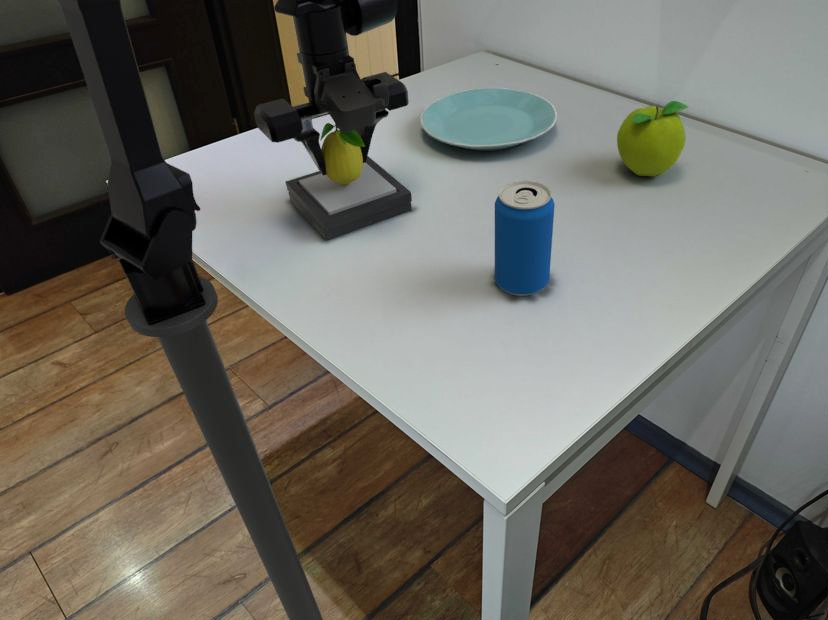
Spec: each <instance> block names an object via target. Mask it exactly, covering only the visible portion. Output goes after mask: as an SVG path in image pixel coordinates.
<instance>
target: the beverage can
mask: <svg viewBox="0 0 828 620" xmlns="http://www.w3.org/2000/svg"><path fill="white" fill-rule="evenodd" d="M498 191H499V192H498V196H497V197H496V199H495V201H494V282H495V284H496V285H497V286H498V288H499V289H500V290H503V291H504V292H506V293H508V294H510V295H513V296H517V297H526V296H531V295H535V294H537V293H539V292H541V291H543V290H544V289H545V288H546V287H547V286H548V284H549V282H550V276H551V273H550V272H551V263H552V262H551V259H552V246H553V235H554V234H553V233H554V221H555V220H554V219H555V205H556V204H555V201H554V199H553V197H552V192H551V189H550V188H549V187H548V186H546V185H545V184H543V183H541V182H539V181H533V180H516V181H512V182H509V183H506V184H504V185H503V186H501V188H500V189H499V190H498Z"/></svg>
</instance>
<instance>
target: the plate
mask: <svg viewBox="0 0 828 620" xmlns="http://www.w3.org/2000/svg"><path fill="white" fill-rule="evenodd" d="M557 120H558V112H557V109H556V107H555V106H554V105H553V104H552V102H550V101H549V100H548V99H546V98H544V97H543V96H541V95H537V94H535V93H532V92H529V91H525V90H521V89H516V88H509V87H490V86H489V87H477V88H469V89H464V90H459V91H456V92H455V91H454V92H452V93H449V94H446V95H444V96H441V97H439V98H437V99H435V100H434V101H432V102H430V103H428V105H426V106H425V107H424V108H423V110H422V112H421V114H420V116H419V123H420V127H421V128H422V129H423V131H424V132H425V133H426V134H427V135H428V136H430V137H432V138H433V139H435V140H437V141H439V142H441V143H444V144H447V145H451V146H454V147H459V148H462V149H467V150H473V151H499V150H504V149H510V148H513V147H516V146H518V145H521V144H523V143H526V142H529V141H532V140H535V139H537V138H540V137H542V136H543V135H545V134H546V133H549V131H550V130H551V129H552V128H553V127H554V126H555V124H556V122H557Z"/></svg>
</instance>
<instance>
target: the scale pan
mask: <svg viewBox="0 0 828 620" xmlns="http://www.w3.org/2000/svg"><path fill="white" fill-rule="evenodd" d="M299 185H300V187H301V188H302V189H303V190H304V191H305V192H306V193H307V194H308V195H309V196H310V197H311V198H312V199H313V200H314V201H315V203H316V204H317V205H318V206H319V207H320V208H321V209H322V210H323V211H324V212H325V213H326V214H327V215H328V216H329V215H332V214H335V213H338V212H341V211H344V210H347V209H350V208H352V207H355V206H358V205H361V204H364V203H367V202H370V201H373V200H376V199H379V198H381V197H384V196H387V195H390V194H393V193H396V192H397V190H396V188H395V187H394V186H392V185H391V184H390V183H389V182H388V181H387V180H385V179H384V178H383V177H382V176H381V175H380V174H378V173H377V172H376V171H375V170H374V169H373V168H371V167H370V166H369V165H368V164H367V163H363V167H362V171H361V174H360V175H359V177H358V178H357V179H356V180H354V181H352V182H349V184H347V185H344V184H342V183H337V182H334V181H332V180H331V179H329V178H328V177H327V175H325V176H323V175H322V174H318V175H315V176H312V177H309V178H305V179H302V180H299Z"/></svg>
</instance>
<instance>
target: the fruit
mask: <svg viewBox="0 0 828 620" xmlns="http://www.w3.org/2000/svg"><path fill="white" fill-rule="evenodd" d="M688 108H689V105H686V104H684V103H683V102H680V101H677V100H672V101H669V102H667V103H666V104H665V105H664V107H659V105H658V104H656V105H651V106H646V107H640V108H636V109H634V110H632V111H631V112H629V114H628V115H627V116H626V117H625V118H624V120H623V122H622V123H621V125H620V126H619V129H618V131H617V137H616V143H617V150H618V154H619V156H620V159H621V160H622V162H623V164H624V165H625V166H626V167H627V168H628V169H629V170H630V171H631V172H633V174H635V175H637V176H638V177H639V176H640V177H657V176H660V175H662V174H664V173H666V172H667V171H668V170H670V169H671V168H672V167H673V166H674V165H675V164H676V162H677V161H678V160H679V158H680V156H681V155H682V152H683V150H684V148H685V145H686V130H685V127H684V124H683V122H682V119H681V117H680V115H679V114H678V112H679V111H682V110H686V109H688Z"/></svg>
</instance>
